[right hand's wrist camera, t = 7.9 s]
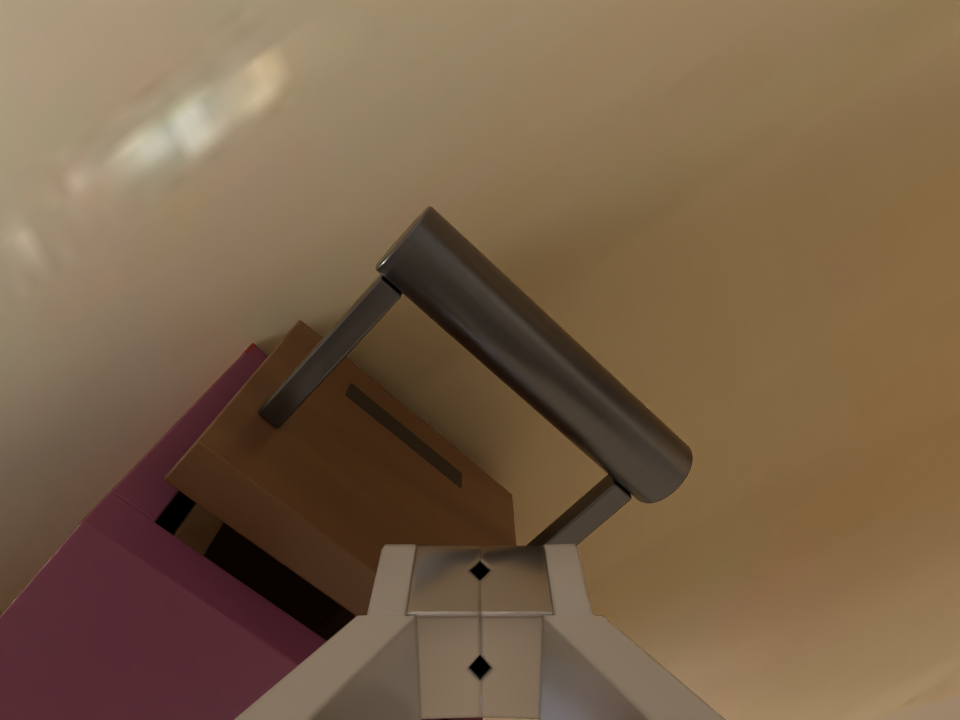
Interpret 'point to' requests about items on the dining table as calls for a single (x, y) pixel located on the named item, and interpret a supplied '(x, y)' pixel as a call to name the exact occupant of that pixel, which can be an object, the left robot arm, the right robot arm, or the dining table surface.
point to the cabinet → (145, 609)
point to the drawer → (399, 442)
